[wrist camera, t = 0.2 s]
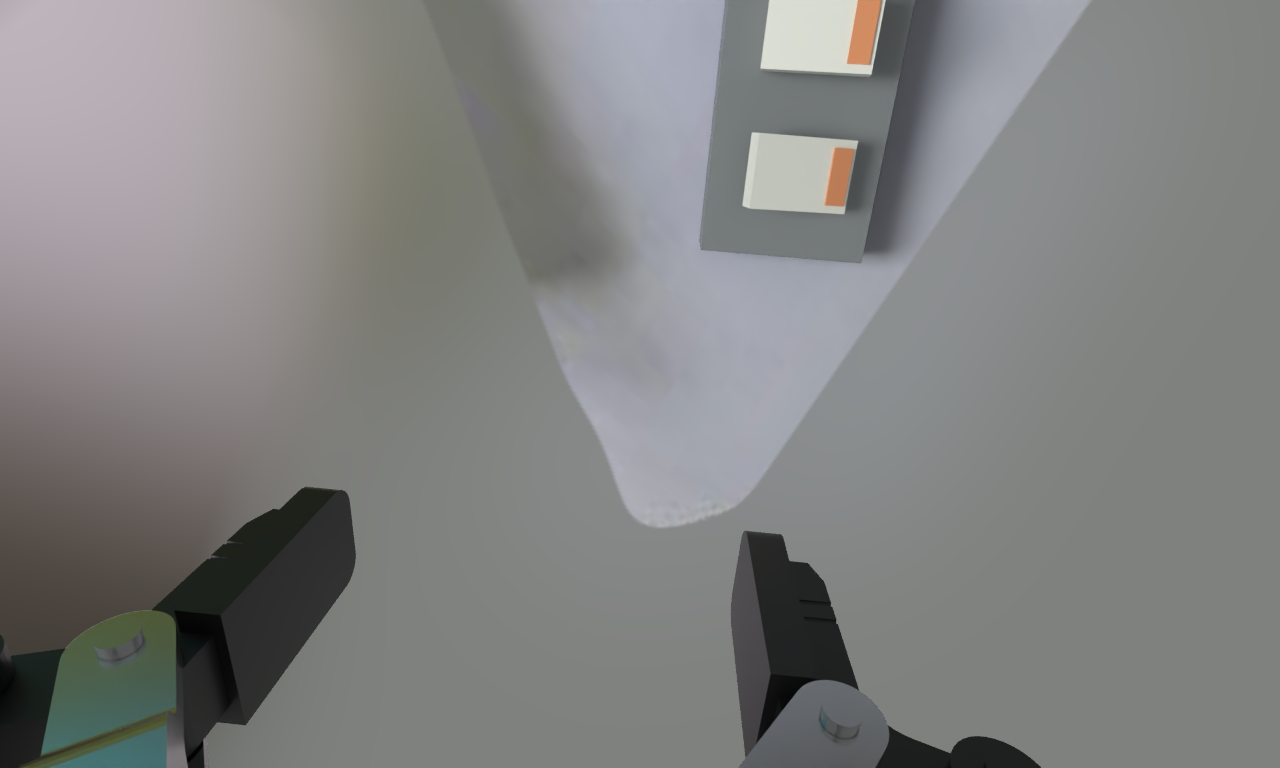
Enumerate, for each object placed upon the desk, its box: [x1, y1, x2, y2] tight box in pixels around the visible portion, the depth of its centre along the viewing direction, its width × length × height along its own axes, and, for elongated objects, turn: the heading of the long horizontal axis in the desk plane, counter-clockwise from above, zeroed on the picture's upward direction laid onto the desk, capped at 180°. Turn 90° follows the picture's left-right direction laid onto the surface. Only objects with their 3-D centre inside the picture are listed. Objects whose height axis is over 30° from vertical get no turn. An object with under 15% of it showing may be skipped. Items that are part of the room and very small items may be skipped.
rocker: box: [742, 132, 858, 214], centre depth 33 cm, size 4×5×2 cm
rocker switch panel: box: [699, 0, 915, 263], centre depth 32 cm, size 25×9×3 cm, turn 176°
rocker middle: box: [760, 0, 886, 77], centre depth 30 cm, size 4×5×2 cm
